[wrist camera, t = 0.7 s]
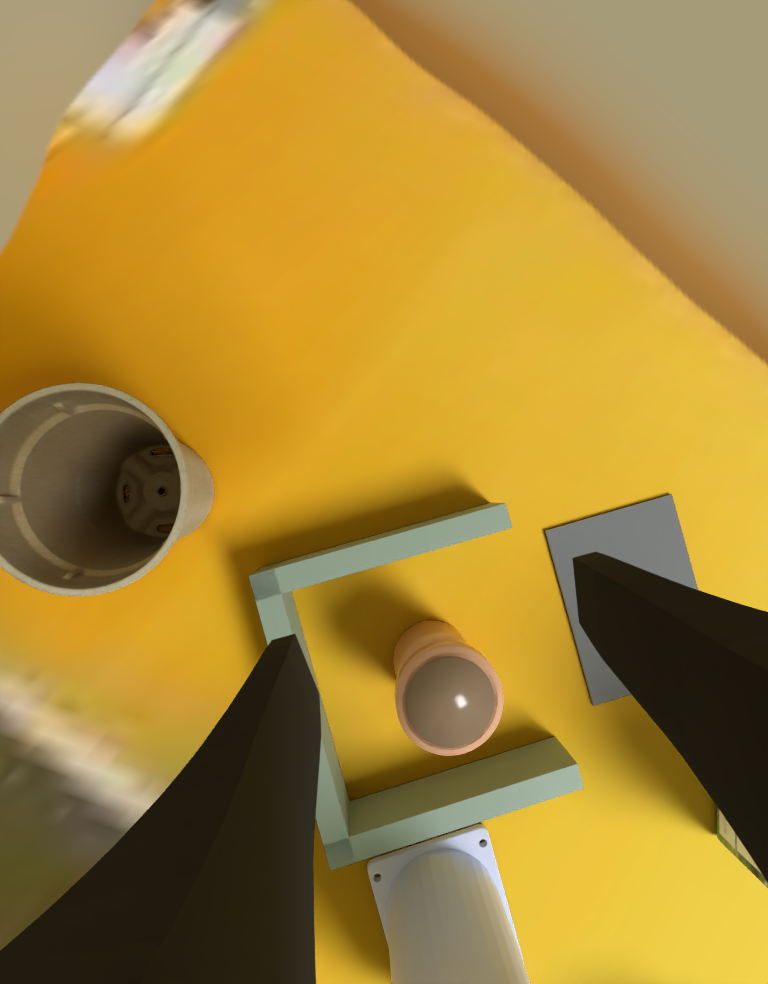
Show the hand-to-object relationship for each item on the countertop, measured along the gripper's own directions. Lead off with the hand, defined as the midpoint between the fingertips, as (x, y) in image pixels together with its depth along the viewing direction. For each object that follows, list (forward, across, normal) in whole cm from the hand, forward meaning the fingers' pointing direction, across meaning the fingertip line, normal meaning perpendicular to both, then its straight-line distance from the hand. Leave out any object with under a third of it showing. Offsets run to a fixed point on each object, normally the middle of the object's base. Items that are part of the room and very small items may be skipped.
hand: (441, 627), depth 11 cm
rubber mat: (+14, -14, +14) cm, 24 cm away
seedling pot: (+14, 0, +14) cm, 19 cm away
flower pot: (+19, +14, -1) cm, 23 cm away
